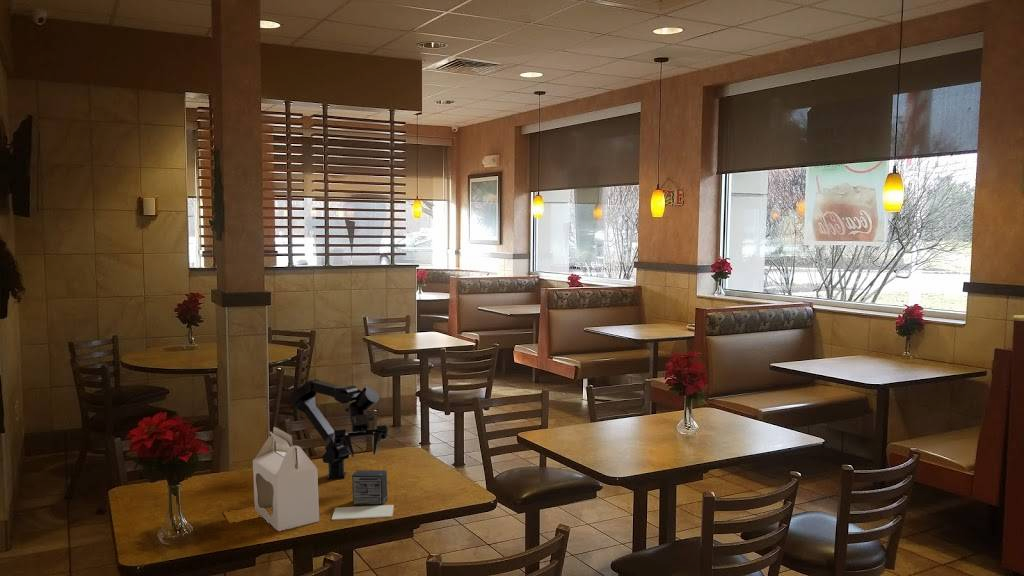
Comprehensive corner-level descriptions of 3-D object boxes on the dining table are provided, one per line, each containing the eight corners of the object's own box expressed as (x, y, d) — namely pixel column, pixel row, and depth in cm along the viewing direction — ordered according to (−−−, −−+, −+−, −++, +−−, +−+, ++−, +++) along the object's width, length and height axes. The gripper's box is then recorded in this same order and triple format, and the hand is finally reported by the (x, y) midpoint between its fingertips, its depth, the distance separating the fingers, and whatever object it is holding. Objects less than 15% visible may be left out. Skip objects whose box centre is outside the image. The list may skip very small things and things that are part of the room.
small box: (388, 499, 258) (387, 469, 258) (383, 506, 252) (382, 475, 251) (358, 499, 259) (357, 469, 259) (352, 505, 253) (351, 475, 252)
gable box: (254, 511, 249) (250, 427, 247) (293, 502, 257) (290, 421, 255) (278, 532, 231) (274, 442, 229) (319, 521, 239) (316, 434, 237)
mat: (335, 509, 250) (335, 507, 250) (393, 505, 252) (393, 504, 252) (331, 520, 240) (331, 519, 240) (392, 517, 242) (392, 515, 242)
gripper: (333, 407, 265) (338, 446, 255) (386, 402, 271) (393, 440, 262) (330, 423, 273) (335, 462, 263) (382, 419, 279) (389, 456, 270)
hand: (363, 455), depth 264 cm, fingers open, 7 cm apart
